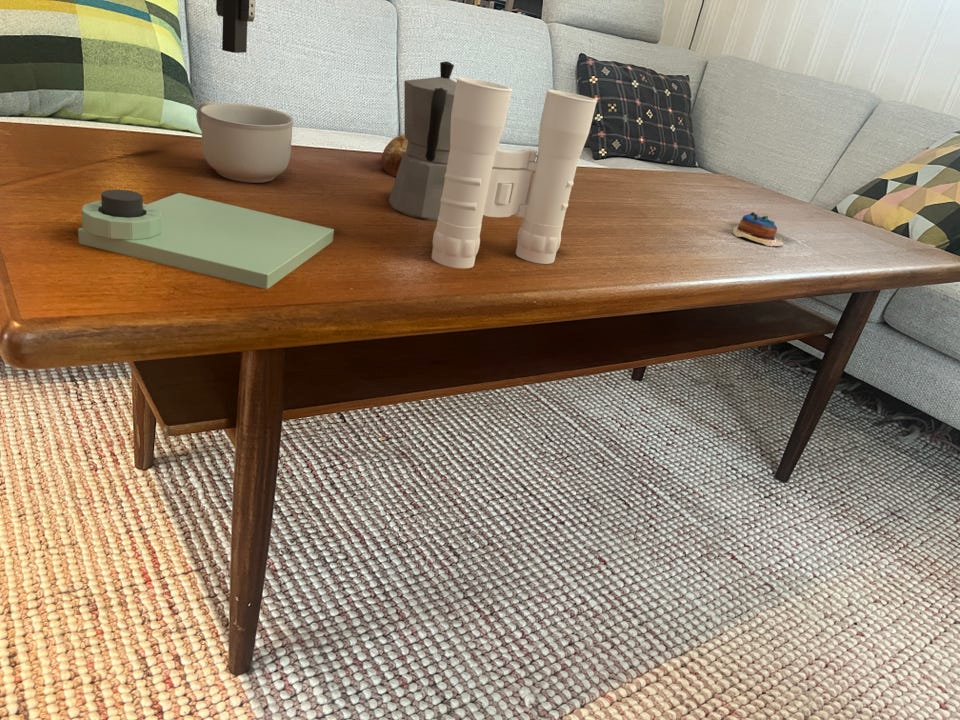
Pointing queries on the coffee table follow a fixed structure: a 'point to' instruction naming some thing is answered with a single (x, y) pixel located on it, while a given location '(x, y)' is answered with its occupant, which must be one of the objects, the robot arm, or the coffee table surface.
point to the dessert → (758, 230)
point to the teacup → (245, 140)
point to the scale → (207, 238)
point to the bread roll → (394, 154)
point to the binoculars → (508, 173)
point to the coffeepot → (425, 145)
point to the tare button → (122, 203)
